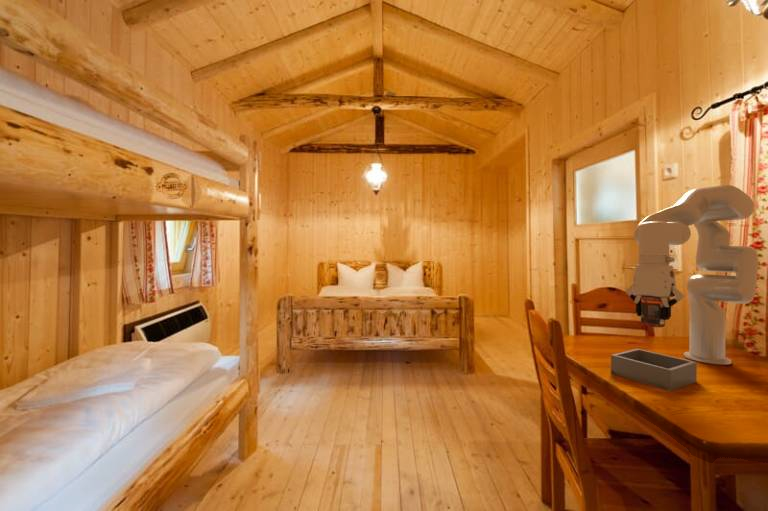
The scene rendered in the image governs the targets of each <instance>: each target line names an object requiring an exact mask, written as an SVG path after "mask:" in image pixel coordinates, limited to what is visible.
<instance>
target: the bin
mask: <svg viewBox="0 0 768 511" xmlns="http://www.w3.org/2000/svg"><path fill="white" fill-rule="evenodd" d="M697 362H698V361H694V360H690V359H685V358H680V357H675V356H671V355H667V354H663V353H658V352H654V351H649V350H645V349H641V348H634V349H630V350H626V351H622V352H617V353H614V354H610V374H612V375H615V376H619V377H622V378H626V379H629V380H632V381H636V382H639V383H642V384H645V385H649V386H651V387H655V388H657V389H661V390H664V391H669V392H673V391H676V390H678V389H681V388H683V387H686V386H688V385H692V384H694V383H697V378H698V377H697V375H698V374H697V373H698V372H697V371H698V370H697V369H698V368H697V364H698V363H697Z"/></svg>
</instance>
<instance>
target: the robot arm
mask: <svg viewBox="0 0 768 511" xmlns="http://www.w3.org/2000/svg"><path fill="white" fill-rule="evenodd" d="M754 211H755V205H754V200H753V199H752V198H751V197H750V196H749V195H748V194H747V193H746V192H744V190H742V189H740V188H739V187H737V186H734V185H731V184H722V185H716V186H715V185H714V186H707V187H700V188H695V189H692V190H689V191H687V192H686V193H685V194H684V195H683V196H682V197H681V198H680V199H679V200H678V201H677V202H676V203H675V204H674V205H673V206H670V207H669V206H668V207H667V208H664V209H663V210H659V211H657V212H654V213H653V214H650V215H648V216H646V217H644V219H642V221H640V222H638V225H637V226H636V227H635V229H634V232H633V239H634V241H635V242H636V244H638V264H636V265H635V269H634V272H633V279H632V284H631V285H630V286H629V287H628V288H627V289H626V290H625V291H624V292H625V293H626V295H627V296H629V297H630V299H632V301H633V303H634V304H635V313H636V315H637V317H641V298H642V297H643V296H654V297H660V298H661V300H662V302H663V304H664V307H662V320H665V321H667V320H670V318H671V317H672V308H673V306H674V305H676V304H677V303H678V302H680V301H681V300H683V299H684V298H686V297H685V295H684V294H683V293H682V291H680V290H679V289H678V288H677V281H676V275H675V274H676V273H675V271H674V267H673V265H670V264H671V263H674V262H675V261H676V260H675V257H671V255H670V246H679V245H684V244H685V243H687V242H688V241H689V240H690V238H691V234H692V233H691V228H690V227H689V226H692V225H694V227H695V229H696V231H697V234H698V237H697V238H698V240H697V246H696V254H695V255H696V256H695V265H696V268H697V269H698V270H700V271H704V272H710V273H711V272H712V273H733V274H735V275H722V274H695V275H692V276H690V277H689V278H688V279H687V282H686V291H687V296H688V301H689V351H684V352H683V356H684V357H685V358H687V359H688V360H690V361H694V362H699V363H704V364H711V365H721V366H726V365H731V364H732V359H730V358H728V357H726V318H727V317H726V312H725V310H724V309H723V308H722V306H720V304H719V303H718V302H720V303H721V302H722V303H730V304H749V303H752V301H753V300H754V299H755V294H756V289H757V279H758V272H759V271H758V270H759V257H758V253H757V250H755V249H754V248H753V247H750V246H747V245H746V246H745V245H741V246H740V245H737V246H736V245H735V246H733V245H731V246H730V243H731V242H730V241H731V233H730V231H729V230H728V229H727V228H726V227H724V226H723V225H722V224H721V223H719V222H723V221H738V220H745V219H748V218H749V217H751V216H752V215H753V213H754Z"/></svg>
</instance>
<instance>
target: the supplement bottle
mask: <svg viewBox="0 0 768 511" xmlns="http://www.w3.org/2000/svg"><path fill="white" fill-rule="evenodd" d="M662 307H664V304H663V302H662V300H661V298H660V297H654V296H643V297H642V298H641V316H640V322H641V325H642V326H646V327H650V328H663V327H665V326H666V320H662Z"/></svg>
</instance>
